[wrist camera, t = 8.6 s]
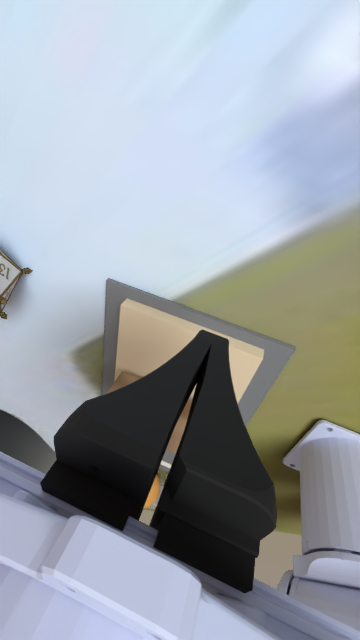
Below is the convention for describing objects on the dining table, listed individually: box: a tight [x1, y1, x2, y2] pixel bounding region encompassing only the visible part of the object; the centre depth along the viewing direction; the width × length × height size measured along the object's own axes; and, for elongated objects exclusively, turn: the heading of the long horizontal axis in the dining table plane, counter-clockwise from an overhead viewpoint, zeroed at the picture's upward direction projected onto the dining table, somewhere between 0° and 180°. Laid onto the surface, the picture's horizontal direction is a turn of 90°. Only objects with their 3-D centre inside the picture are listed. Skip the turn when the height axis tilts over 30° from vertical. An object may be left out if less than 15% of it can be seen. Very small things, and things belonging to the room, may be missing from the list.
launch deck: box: [102, 279, 295, 507], centre depth 31 cm, size 16×34×2 cm, turn 168°
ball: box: [144, 474, 160, 508], centre depth 38 cm, size 5×5×5 cm
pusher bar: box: [106, 371, 192, 454], centre depth 24 cm, size 10×2×4 cm, turn 78°
